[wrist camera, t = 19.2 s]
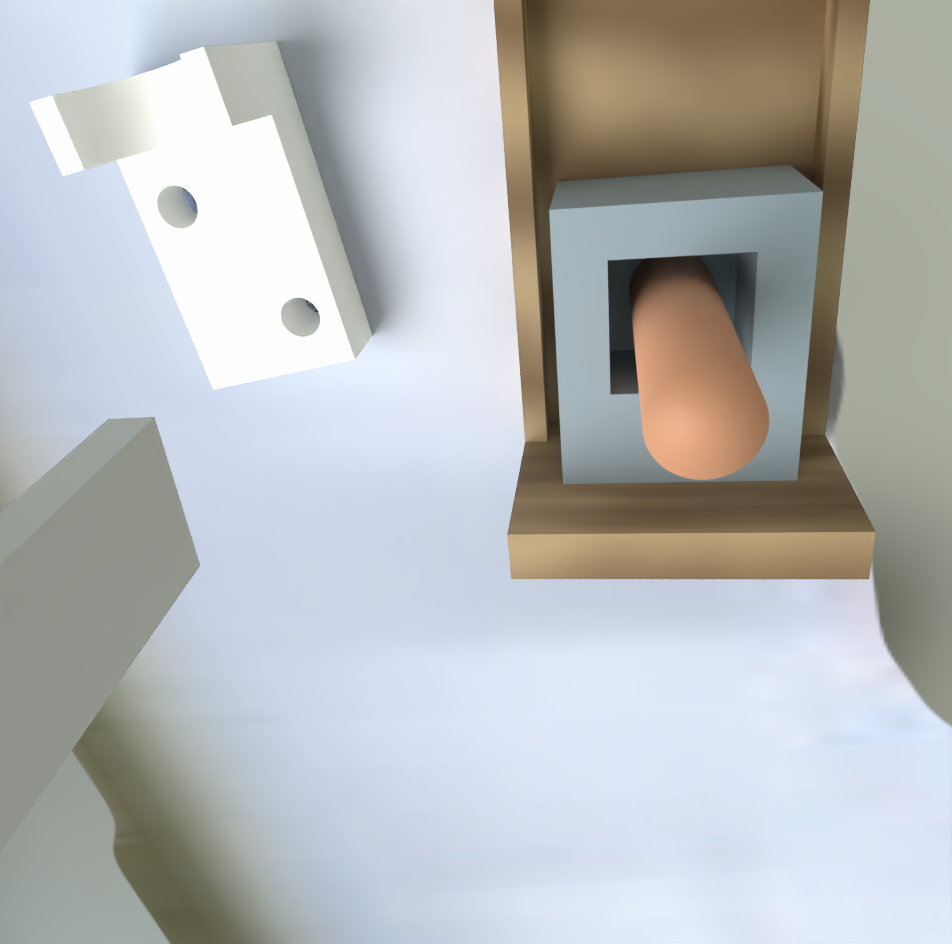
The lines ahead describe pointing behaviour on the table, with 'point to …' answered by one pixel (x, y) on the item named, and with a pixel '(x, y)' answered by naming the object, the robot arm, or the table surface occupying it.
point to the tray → (662, 152)
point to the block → (737, 280)
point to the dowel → (692, 372)
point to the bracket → (225, 205)
